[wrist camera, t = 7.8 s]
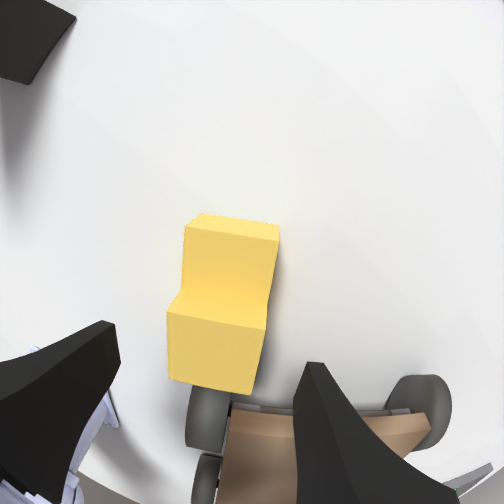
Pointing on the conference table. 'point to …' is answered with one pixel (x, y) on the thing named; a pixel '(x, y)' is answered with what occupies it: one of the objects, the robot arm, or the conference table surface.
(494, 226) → the conference table surface
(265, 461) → the trolley
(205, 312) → the yellow step block
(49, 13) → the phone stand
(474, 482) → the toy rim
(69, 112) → the conference table surface
